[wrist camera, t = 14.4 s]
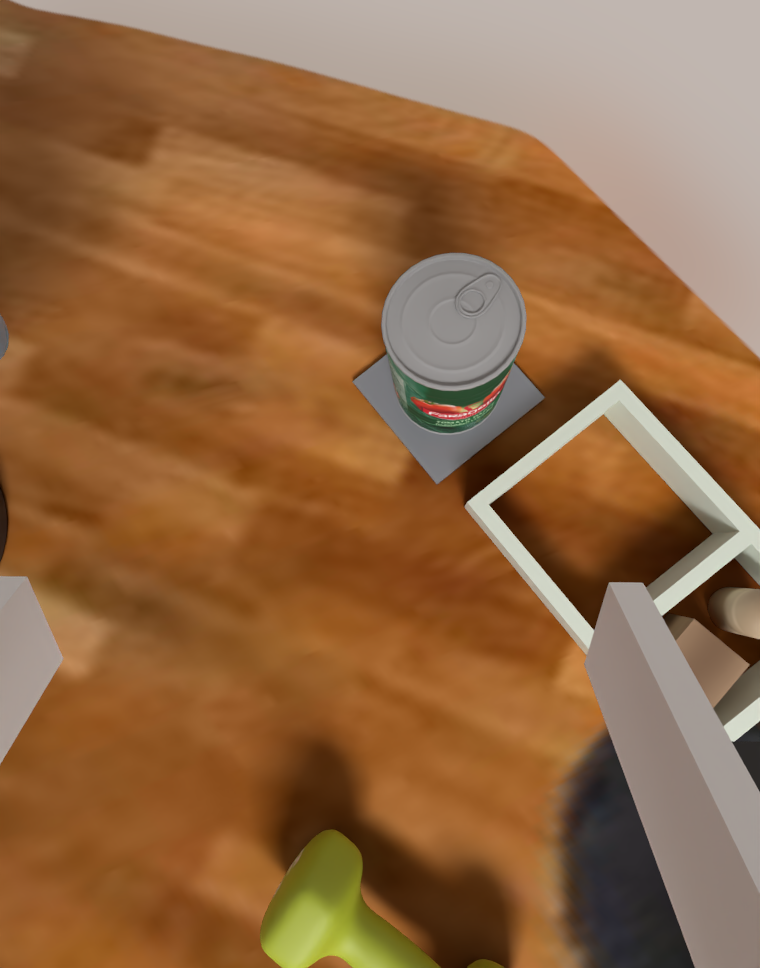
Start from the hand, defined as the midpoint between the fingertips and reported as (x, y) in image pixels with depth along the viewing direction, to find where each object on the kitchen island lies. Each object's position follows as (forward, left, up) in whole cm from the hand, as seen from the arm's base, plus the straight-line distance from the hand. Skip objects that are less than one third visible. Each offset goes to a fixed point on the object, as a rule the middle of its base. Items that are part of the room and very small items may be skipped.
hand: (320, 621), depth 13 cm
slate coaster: (-9, +12, -28) cm, 31 cm away
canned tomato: (-9, +12, -27) cm, 31 cm away
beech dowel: (+15, +17, -28) cm, 36 cm away
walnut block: (+15, +12, -28) cm, 34 cm away
